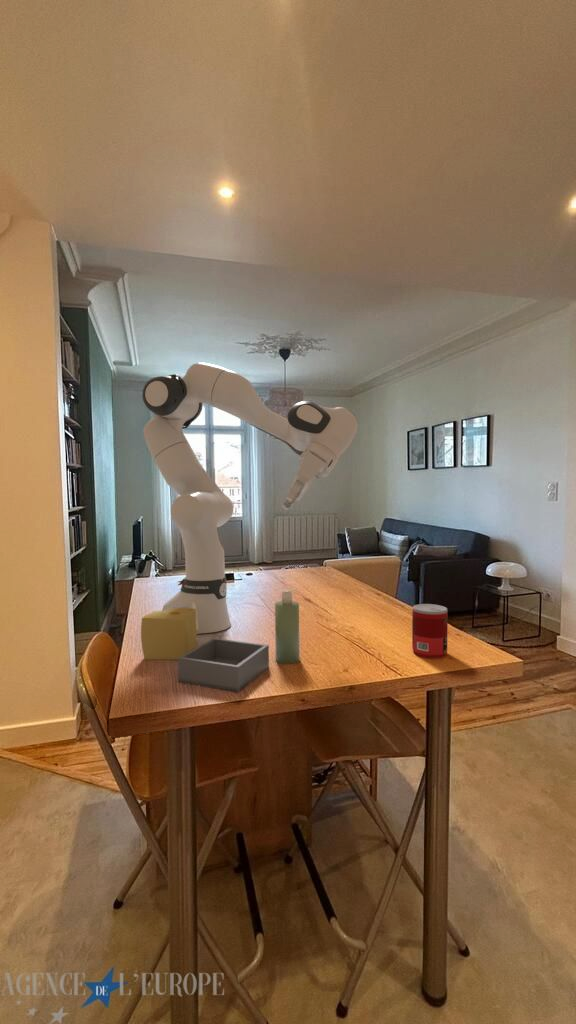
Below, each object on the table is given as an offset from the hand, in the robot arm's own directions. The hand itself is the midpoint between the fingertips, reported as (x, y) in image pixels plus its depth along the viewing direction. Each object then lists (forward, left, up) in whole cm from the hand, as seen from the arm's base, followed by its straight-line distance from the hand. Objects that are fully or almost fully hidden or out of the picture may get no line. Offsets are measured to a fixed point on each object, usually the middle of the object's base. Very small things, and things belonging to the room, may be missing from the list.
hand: (286, 503), depth 120 cm
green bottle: (+4, -11, -36) cm, 38 cm away
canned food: (+34, +5, -36) cm, 50 cm away
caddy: (-5, -24, -36) cm, 43 cm away
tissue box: (-24, -17, -36) cm, 46 cm away
